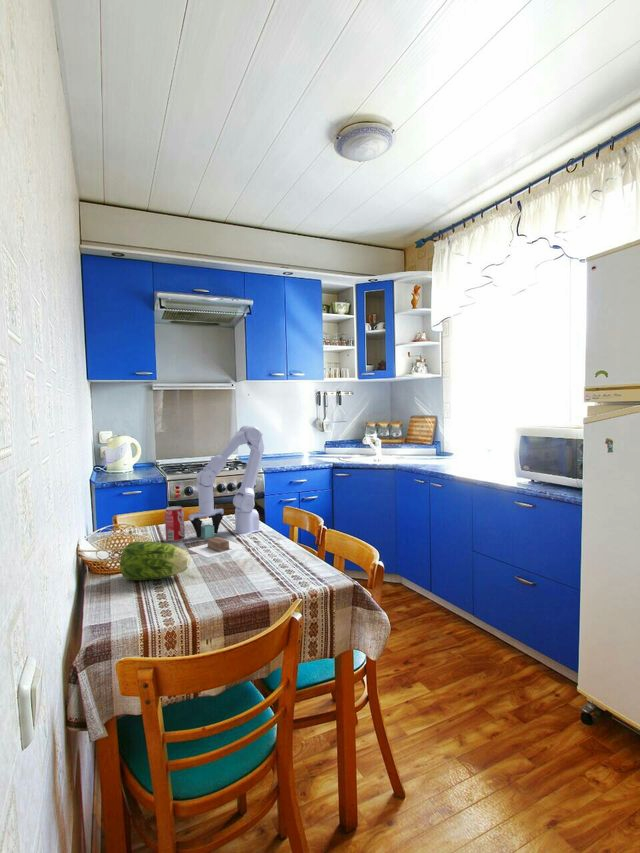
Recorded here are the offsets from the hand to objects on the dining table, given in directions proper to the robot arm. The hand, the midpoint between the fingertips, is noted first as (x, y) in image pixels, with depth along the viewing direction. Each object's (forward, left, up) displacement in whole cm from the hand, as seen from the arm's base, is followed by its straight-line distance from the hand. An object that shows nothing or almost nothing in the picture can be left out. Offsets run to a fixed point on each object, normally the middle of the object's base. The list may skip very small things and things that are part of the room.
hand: (207, 534), depth 181 cm
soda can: (+10, -7, -2) cm, 12 cm away
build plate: (+5, +15, -1) cm, 16 cm away
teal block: (0, 0, -2) cm, 2 cm away
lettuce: (+33, +26, -2) cm, 42 cm away
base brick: (+5, +16, -1) cm, 17 cm away
